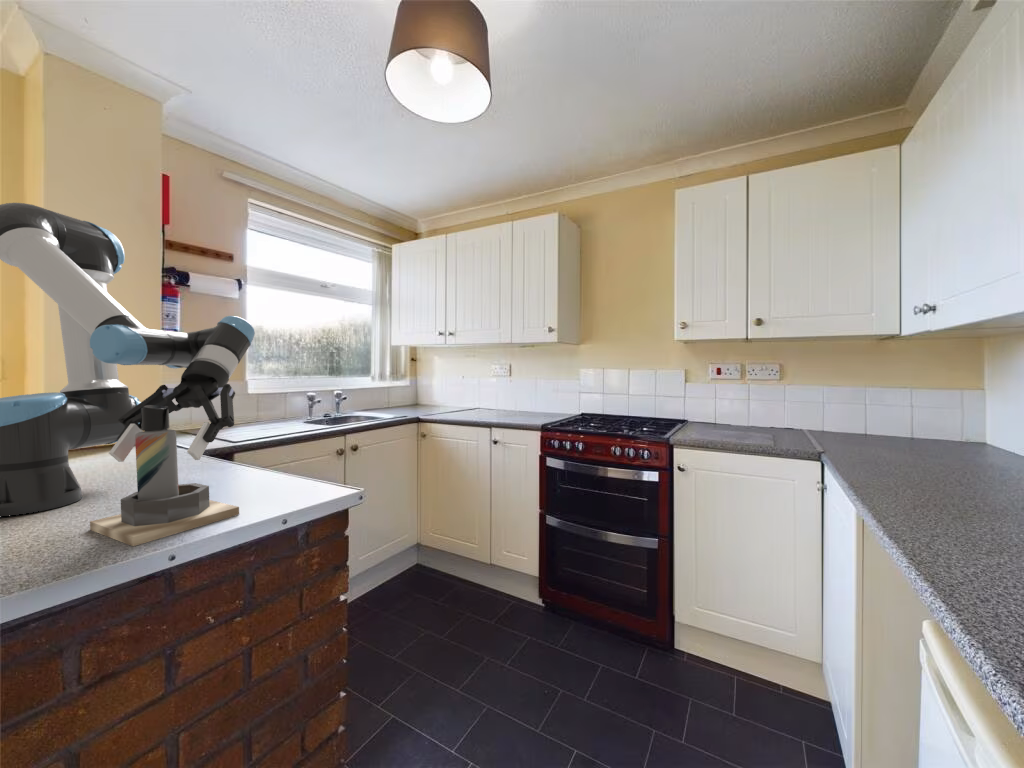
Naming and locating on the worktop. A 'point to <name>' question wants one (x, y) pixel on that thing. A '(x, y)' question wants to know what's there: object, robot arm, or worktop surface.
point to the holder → (163, 515)
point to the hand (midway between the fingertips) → (154, 456)
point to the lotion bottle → (156, 455)
